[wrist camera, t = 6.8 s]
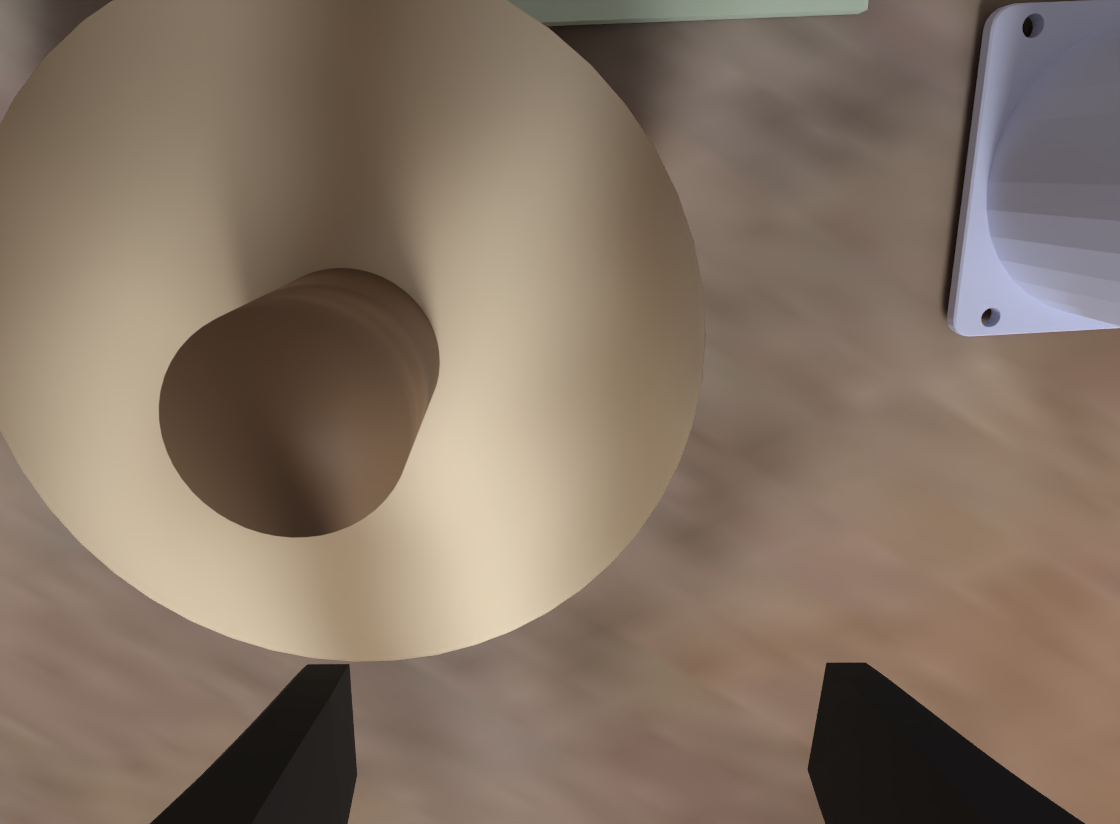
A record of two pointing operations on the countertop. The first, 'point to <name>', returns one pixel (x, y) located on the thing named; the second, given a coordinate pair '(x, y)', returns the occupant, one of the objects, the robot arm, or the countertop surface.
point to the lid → (342, 315)
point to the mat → (677, 10)
